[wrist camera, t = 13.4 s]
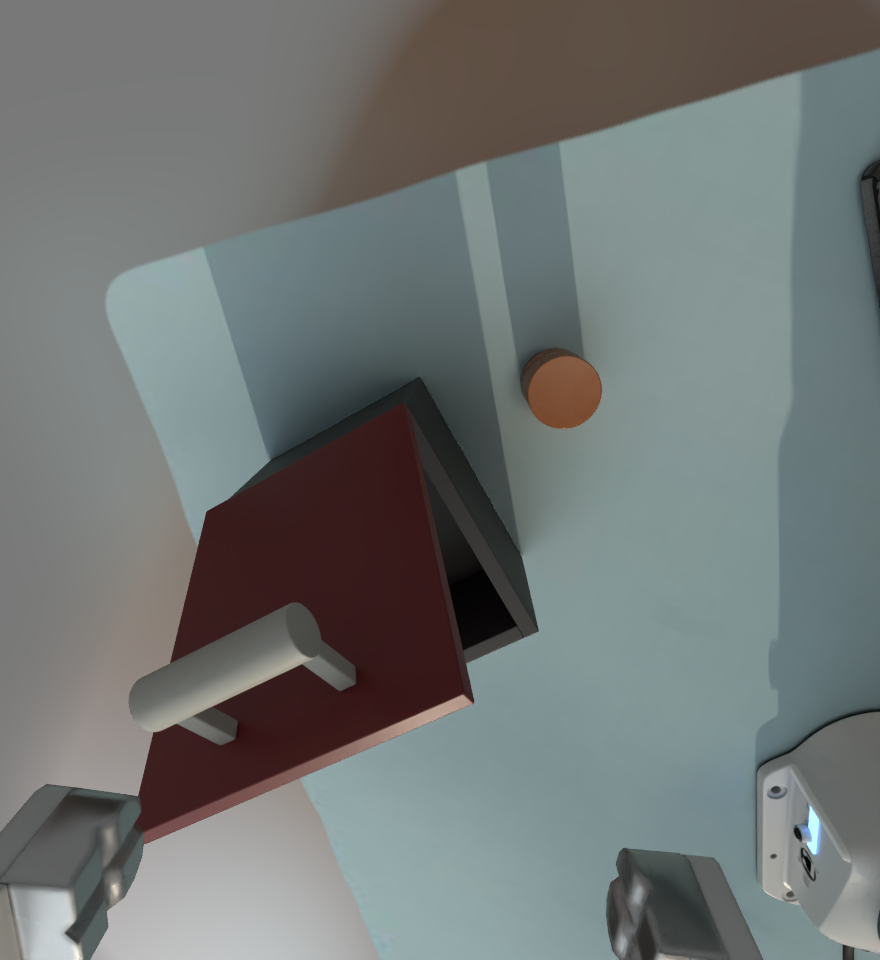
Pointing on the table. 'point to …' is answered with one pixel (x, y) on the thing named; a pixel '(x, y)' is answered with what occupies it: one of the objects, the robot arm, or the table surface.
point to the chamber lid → (303, 630)
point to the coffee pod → (561, 388)
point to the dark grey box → (451, 525)
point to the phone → (872, 215)
